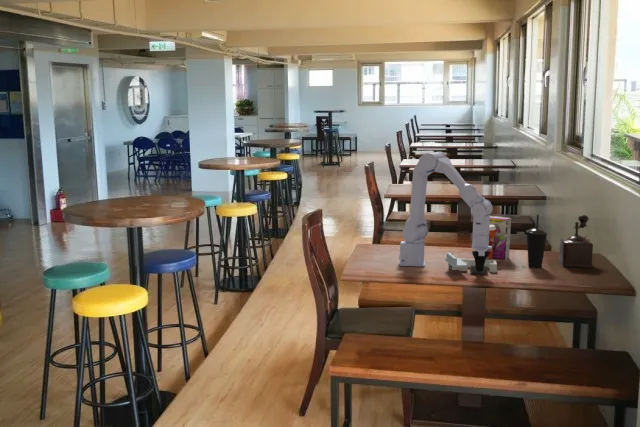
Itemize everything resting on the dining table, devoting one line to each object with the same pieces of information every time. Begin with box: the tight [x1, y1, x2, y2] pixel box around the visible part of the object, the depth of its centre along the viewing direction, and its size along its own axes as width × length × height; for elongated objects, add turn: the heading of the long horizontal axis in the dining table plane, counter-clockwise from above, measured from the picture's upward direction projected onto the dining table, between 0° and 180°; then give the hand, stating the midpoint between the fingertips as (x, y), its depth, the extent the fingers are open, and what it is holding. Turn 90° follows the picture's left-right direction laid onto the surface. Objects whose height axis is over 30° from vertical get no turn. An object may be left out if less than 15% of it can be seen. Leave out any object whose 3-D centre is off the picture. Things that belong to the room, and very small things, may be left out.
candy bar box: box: [490, 215, 512, 261], centre depth 266 cm, size 11×5×16 cm, turn 56°
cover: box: [444, 252, 468, 268], centre depth 244 cm, size 11×5×3 cm, turn 6°
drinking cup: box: [525, 214, 548, 269], centre depth 251 cm, size 8×8×20 cm
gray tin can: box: [469, 265, 489, 275], centre depth 244 cm, size 6×3×3 cm, turn 80°
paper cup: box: [487, 224, 496, 260], centre depth 262 cm, size 8×8×14 cm
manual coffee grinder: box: [558, 214, 594, 269], centre depth 257 cm, size 16×11×18 cm
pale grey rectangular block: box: [447, 252, 498, 273], centre depth 250 cm, size 17×8×6 cm, turn 81°
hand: (479, 271), depth 241 cm, fingers closed
